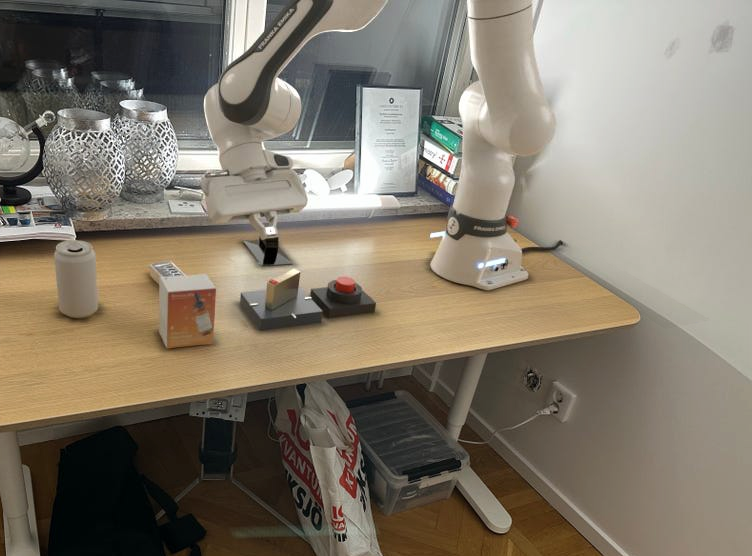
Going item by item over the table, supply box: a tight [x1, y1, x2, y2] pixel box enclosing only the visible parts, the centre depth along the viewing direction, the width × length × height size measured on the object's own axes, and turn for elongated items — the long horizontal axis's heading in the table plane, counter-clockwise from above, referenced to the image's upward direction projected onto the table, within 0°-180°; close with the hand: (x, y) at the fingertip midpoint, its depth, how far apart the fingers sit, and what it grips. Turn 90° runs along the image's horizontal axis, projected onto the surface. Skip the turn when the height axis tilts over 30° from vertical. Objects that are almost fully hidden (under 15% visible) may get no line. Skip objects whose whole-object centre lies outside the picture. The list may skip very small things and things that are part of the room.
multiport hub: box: [149, 260, 187, 285], centre depth 124 cm, size 4×11×2 cm, turn 35°
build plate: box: [243, 235, 294, 267], centre depth 141 cm, size 12×7×5 cm, turn 23°
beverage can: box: [53, 239, 99, 319], centre depth 110 cm, size 6×6×12 cm
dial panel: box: [239, 285, 324, 332], centre depth 120 cm, size 12×12×3 cm
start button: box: [335, 276, 356, 293], centre depth 124 cm, size 4×4×2 cm
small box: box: [158, 273, 217, 349], centre depth 107 cm, size 8×6×10 cm
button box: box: [309, 279, 377, 320], centre depth 125 cm, size 10×8×4 cm
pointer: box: [265, 268, 301, 310], centre depth 118 cm, size 8×2×5 cm, turn 146°
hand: (270, 237), depth 122 cm, fingers closed
